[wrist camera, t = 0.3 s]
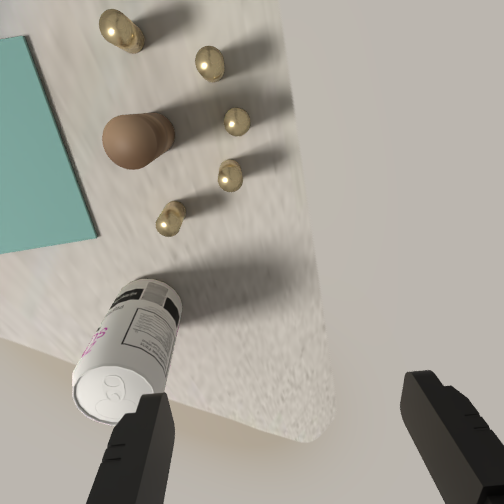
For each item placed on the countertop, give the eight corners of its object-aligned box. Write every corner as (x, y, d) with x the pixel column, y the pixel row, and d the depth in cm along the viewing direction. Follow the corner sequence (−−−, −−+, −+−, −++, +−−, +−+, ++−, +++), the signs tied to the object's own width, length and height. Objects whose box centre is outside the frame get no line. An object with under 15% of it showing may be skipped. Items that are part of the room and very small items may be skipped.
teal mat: (-115, 59, 31) (-119, 59, 30) (24, 36, 31) (22, 35, 30) (-13, 255, 39) (-16, 256, 38) (97, 236, 39) (96, 238, 38)
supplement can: (184, 330, 45) (164, 429, 31) (120, 330, 44) (71, 430, 30) (182, 276, 42) (160, 360, 28) (114, 275, 41) (56, 360, 27)
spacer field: (114, 25, 31) (94, 11, 26) (231, 6, 31) (231, -11, 26) (167, 222, 39) (159, 238, 34) (260, 207, 39) (264, 221, 34)
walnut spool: (130, 116, 34) (94, 119, 25) (169, 109, 34) (148, 110, 25) (141, 156, 36) (112, 173, 26) (178, 150, 36) (161, 165, 26)
